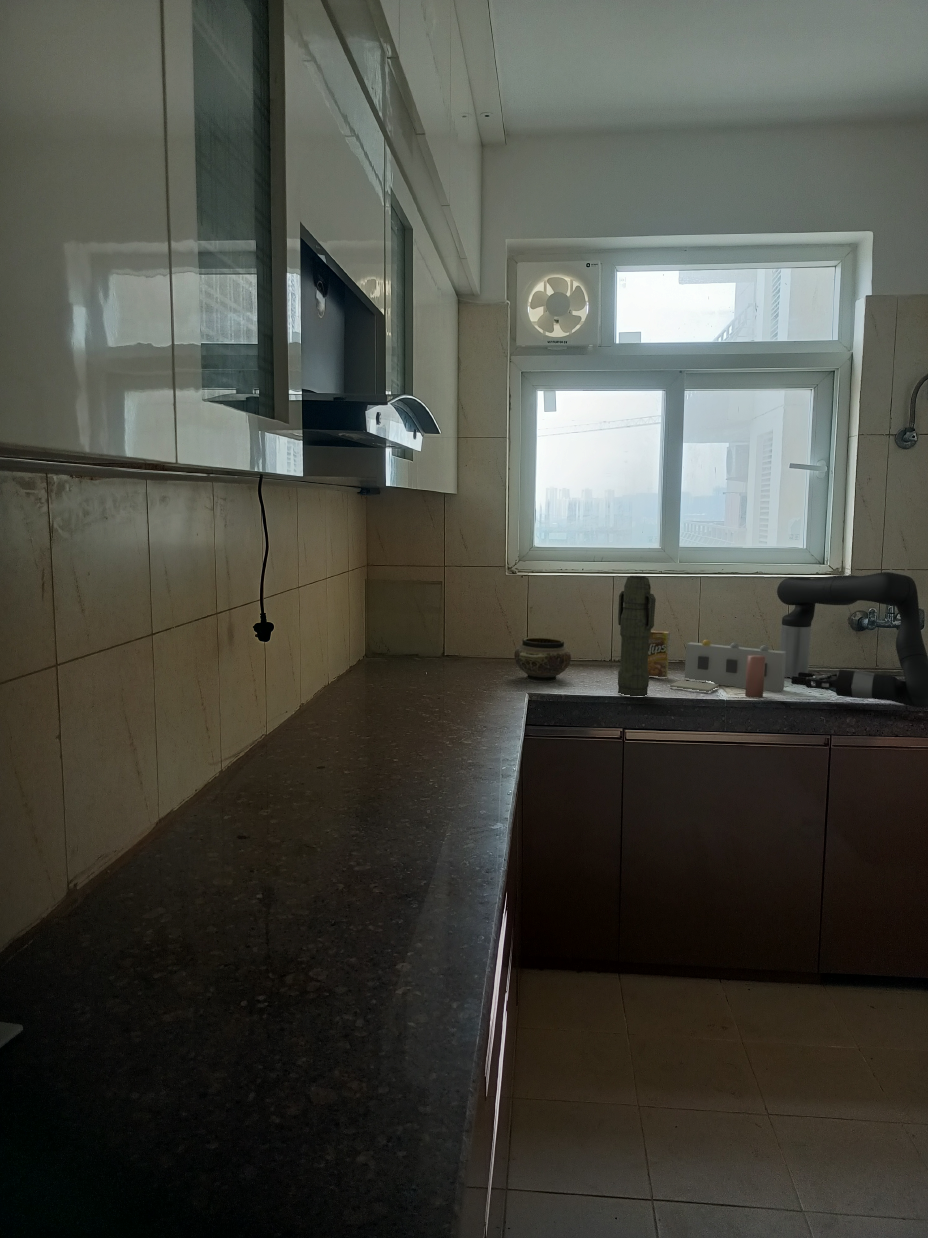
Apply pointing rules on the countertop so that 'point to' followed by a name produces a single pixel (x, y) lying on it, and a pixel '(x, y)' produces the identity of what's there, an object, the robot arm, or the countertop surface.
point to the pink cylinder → (755, 676)
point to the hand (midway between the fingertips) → (795, 677)
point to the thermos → (635, 635)
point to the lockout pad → (694, 685)
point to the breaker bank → (732, 664)
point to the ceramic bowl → (542, 658)
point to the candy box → (658, 653)
